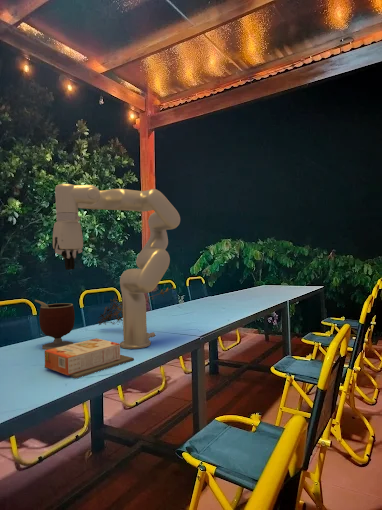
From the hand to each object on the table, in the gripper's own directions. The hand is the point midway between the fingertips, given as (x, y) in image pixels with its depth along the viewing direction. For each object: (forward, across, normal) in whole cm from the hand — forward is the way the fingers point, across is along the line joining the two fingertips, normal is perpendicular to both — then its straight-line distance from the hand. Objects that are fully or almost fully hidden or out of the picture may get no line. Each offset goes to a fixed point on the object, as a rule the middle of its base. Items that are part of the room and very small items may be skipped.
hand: (70, 269), depth 130 cm
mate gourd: (+33, -7, -23) cm, 41 cm away
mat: (+33, +1, +10) cm, 34 cm away
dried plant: (+34, -44, -15) cm, 58 cm away
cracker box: (+29, +14, +10) cm, 33 cm away
